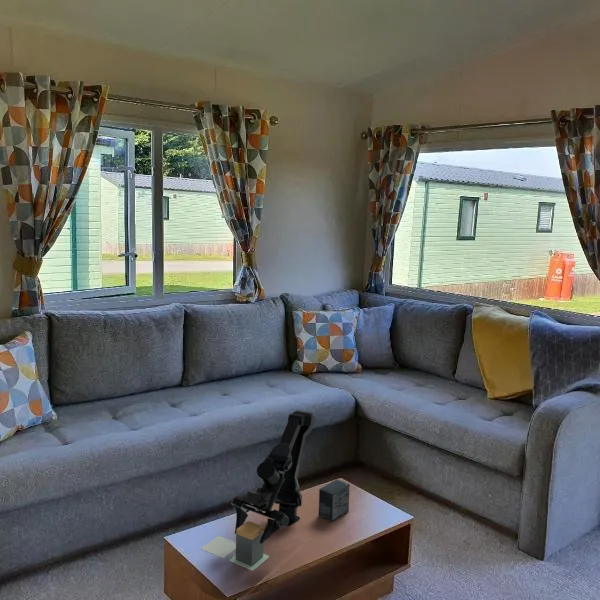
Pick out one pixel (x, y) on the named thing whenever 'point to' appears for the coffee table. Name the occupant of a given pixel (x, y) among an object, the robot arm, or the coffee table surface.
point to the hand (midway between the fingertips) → (248, 538)
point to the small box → (334, 500)
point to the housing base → (249, 549)
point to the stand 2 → (248, 565)
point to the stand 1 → (220, 547)
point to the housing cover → (250, 530)
